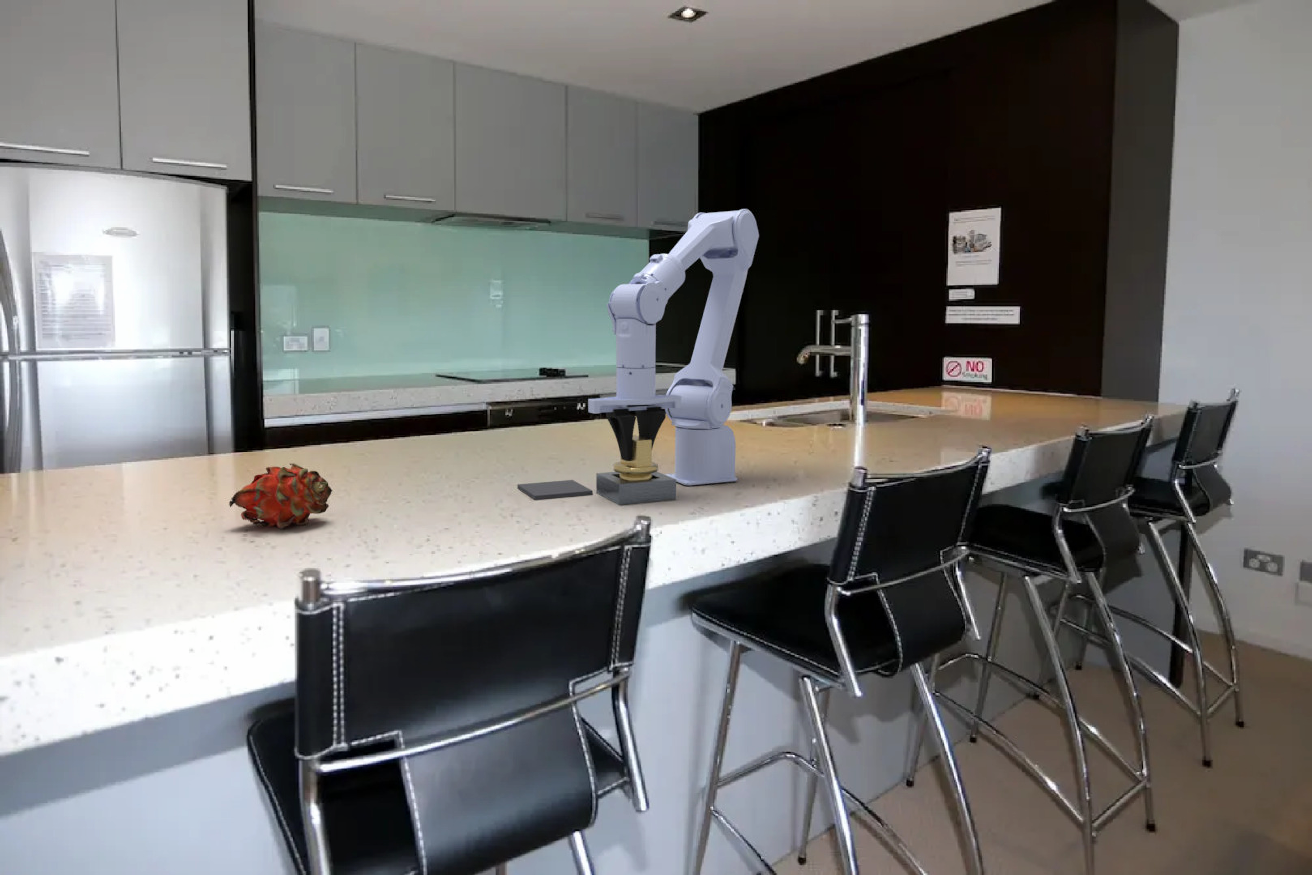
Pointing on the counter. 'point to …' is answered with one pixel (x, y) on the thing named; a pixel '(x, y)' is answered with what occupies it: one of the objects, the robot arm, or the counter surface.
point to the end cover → (638, 461)
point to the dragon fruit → (283, 496)
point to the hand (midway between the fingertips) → (635, 459)
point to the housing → (635, 488)
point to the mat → (554, 489)
